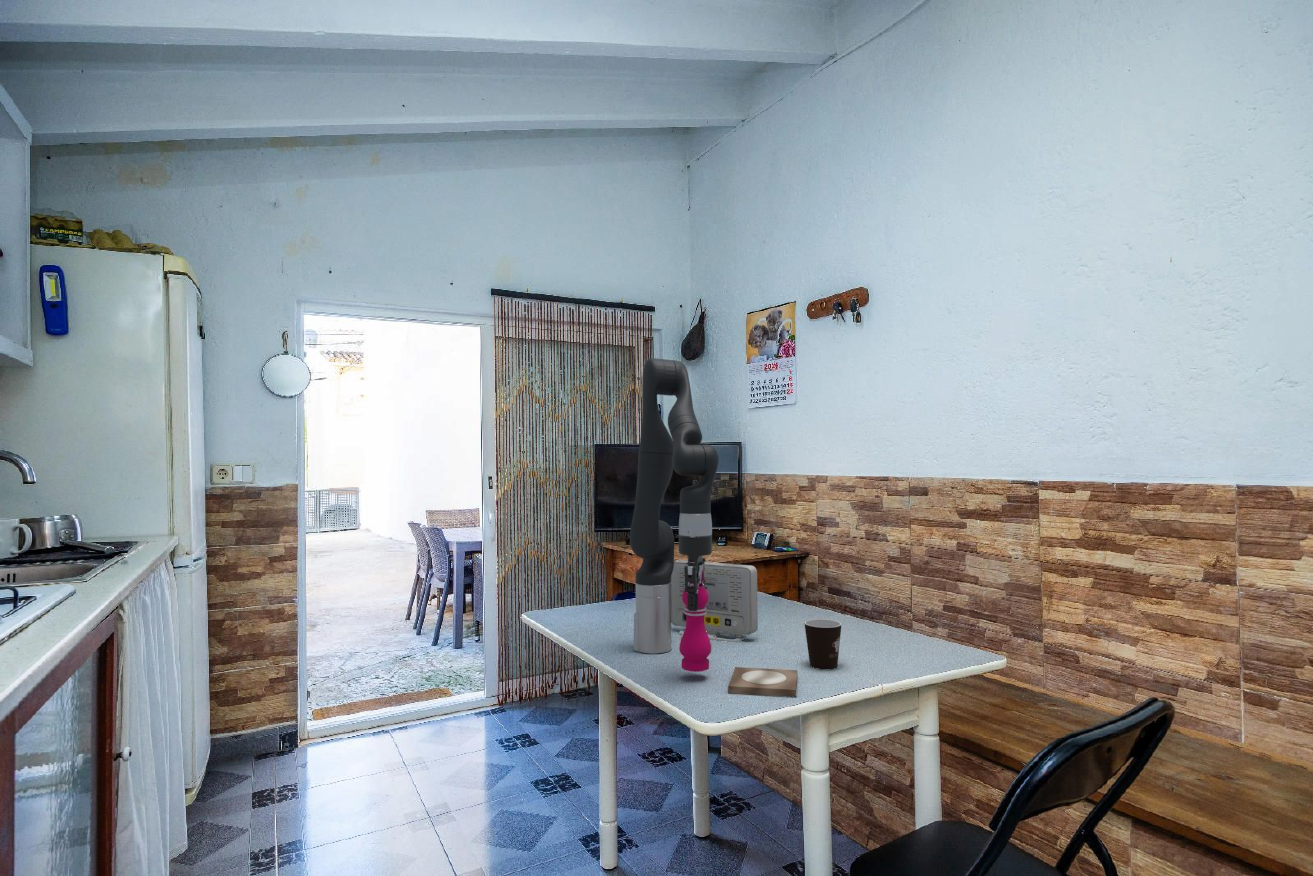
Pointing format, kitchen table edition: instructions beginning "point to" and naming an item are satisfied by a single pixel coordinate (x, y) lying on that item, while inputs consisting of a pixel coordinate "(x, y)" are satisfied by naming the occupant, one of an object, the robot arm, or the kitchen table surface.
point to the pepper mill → (695, 635)
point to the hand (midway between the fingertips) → (695, 607)
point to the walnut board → (763, 682)
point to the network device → (720, 599)
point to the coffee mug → (823, 642)
